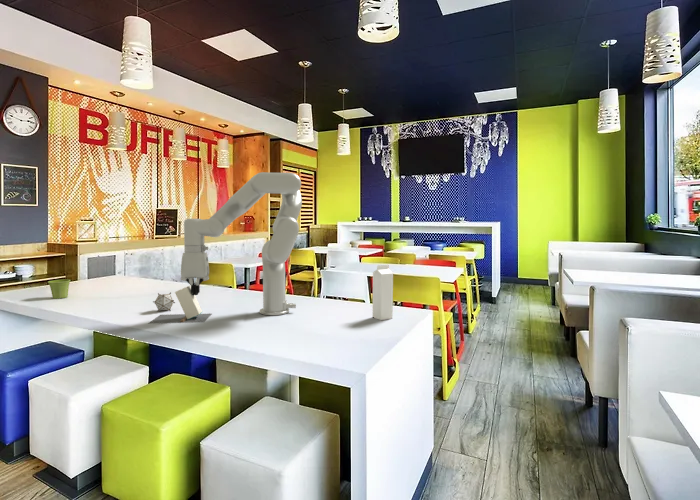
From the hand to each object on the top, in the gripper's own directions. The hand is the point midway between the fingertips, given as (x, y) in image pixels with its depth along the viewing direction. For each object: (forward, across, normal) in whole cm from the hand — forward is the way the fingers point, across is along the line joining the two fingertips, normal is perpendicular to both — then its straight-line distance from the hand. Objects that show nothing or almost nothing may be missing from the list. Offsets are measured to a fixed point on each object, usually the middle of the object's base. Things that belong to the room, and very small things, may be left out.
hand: (195, 294), depth 160 cm
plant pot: (+11, +79, -50) cm, 94 cm away
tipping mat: (+10, +6, 0) cm, 11 cm away
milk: (+10, -76, +6) cm, 77 cm away
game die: (+10, +17, -15) cm, 25 cm away
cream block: (+9, 0, 0) cm, 9 cm away
